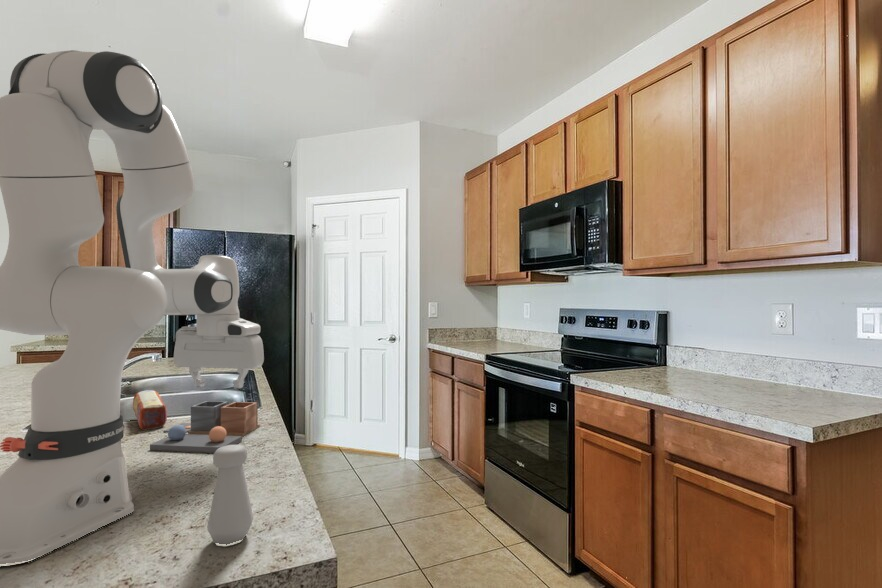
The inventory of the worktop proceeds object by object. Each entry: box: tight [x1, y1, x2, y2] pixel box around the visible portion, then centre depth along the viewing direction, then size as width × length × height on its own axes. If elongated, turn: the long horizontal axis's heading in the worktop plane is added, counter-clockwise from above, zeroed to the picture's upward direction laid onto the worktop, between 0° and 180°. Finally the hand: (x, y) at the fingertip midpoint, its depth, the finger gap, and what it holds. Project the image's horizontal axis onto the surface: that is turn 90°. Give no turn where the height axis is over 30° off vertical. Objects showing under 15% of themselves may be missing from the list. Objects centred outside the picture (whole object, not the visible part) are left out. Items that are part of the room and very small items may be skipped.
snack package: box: [132, 389, 168, 431], centre depth 125 cm, size 21×7×7 cm, turn 37°
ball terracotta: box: [209, 426, 226, 443], centre depth 103 cm, size 4×4×4 cm
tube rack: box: [187, 400, 261, 437], centre depth 115 cm, size 8×14×7 cm, turn 83°
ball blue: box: [167, 424, 187, 441], centre depth 104 cm, size 4×4×4 cm
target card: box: [163, 422, 191, 434], centre depth 117 cm, size 7×6×1 cm
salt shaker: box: [206, 444, 254, 545], centre depth 64 cm, size 6×6×13 cm
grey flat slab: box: [149, 433, 243, 454], centre depth 104 cm, size 8×17×1 cm, turn 83°
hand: (218, 387), depth 103 cm, fingers open, 8 cm apart
